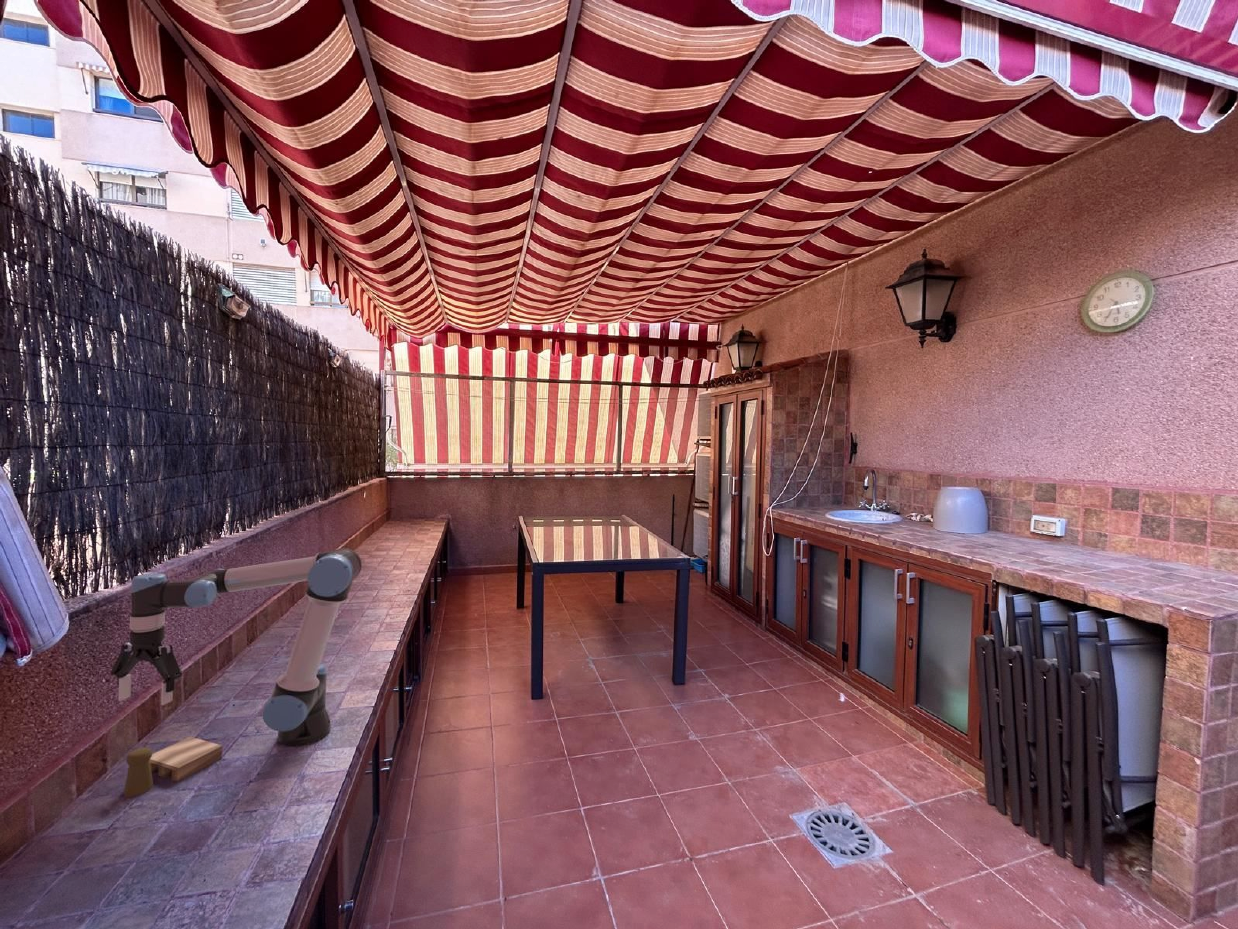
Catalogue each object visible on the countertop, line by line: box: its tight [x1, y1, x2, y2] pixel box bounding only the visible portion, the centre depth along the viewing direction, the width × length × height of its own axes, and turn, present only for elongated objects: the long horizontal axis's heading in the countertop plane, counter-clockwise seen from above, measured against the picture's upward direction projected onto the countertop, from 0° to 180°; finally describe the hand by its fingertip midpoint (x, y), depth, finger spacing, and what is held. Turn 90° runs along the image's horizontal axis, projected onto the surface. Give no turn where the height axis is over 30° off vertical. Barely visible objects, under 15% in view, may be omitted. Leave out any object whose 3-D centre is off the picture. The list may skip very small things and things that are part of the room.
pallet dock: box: [149, 736, 223, 782], centre depth 153 cm, size 14×12×4 cm
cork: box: [123, 747, 154, 798], centre depth 141 cm, size 6×6×11 cm
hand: (145, 700), depth 149 cm, fingers open, 13 cm apart
